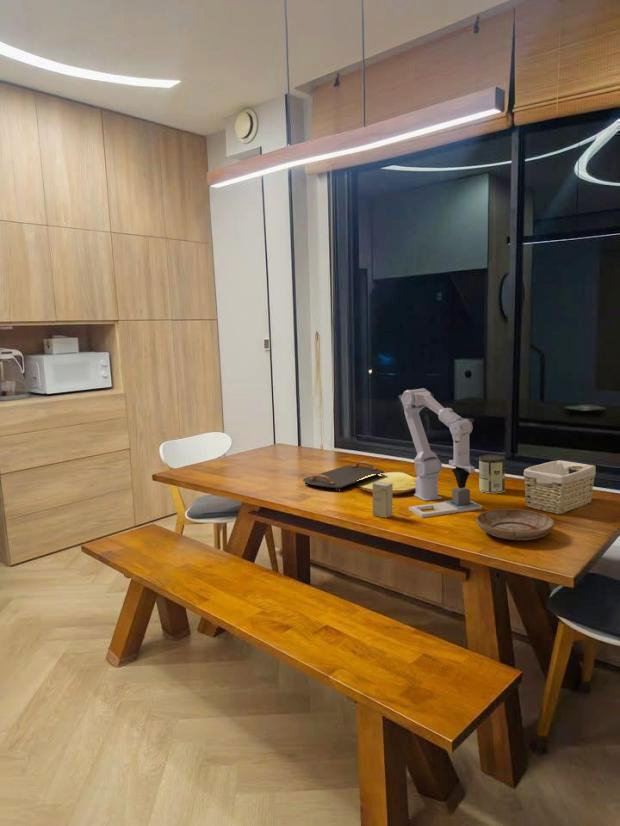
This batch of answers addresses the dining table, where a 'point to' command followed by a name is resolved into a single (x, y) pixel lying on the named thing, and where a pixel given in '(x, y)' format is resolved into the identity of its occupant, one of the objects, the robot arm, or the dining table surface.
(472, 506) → the two-tone slotted frame
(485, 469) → the coffee can
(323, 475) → the serving board
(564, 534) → the dining table surface
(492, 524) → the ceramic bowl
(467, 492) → the plug
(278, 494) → the dining table surface
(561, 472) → the storage basket
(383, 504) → the skincare box
